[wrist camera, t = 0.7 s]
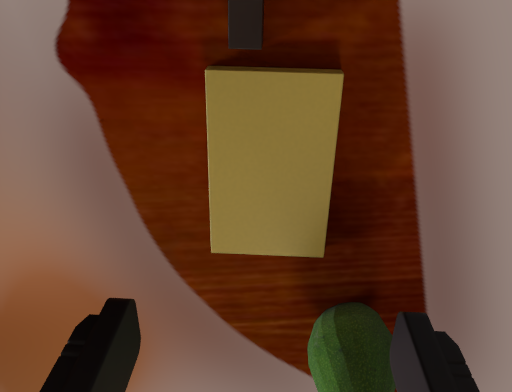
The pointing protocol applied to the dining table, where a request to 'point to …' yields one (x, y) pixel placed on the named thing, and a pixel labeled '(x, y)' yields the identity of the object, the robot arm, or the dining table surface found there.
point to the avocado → (350, 350)
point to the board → (271, 157)
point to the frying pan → (245, 24)
